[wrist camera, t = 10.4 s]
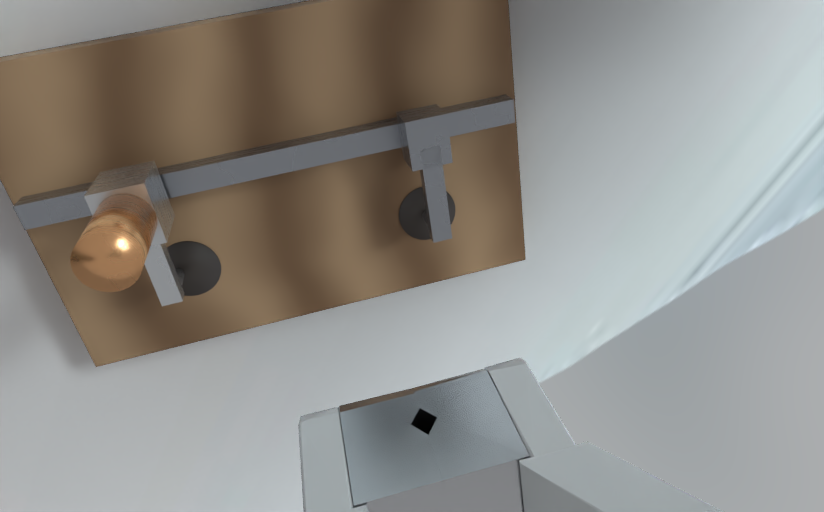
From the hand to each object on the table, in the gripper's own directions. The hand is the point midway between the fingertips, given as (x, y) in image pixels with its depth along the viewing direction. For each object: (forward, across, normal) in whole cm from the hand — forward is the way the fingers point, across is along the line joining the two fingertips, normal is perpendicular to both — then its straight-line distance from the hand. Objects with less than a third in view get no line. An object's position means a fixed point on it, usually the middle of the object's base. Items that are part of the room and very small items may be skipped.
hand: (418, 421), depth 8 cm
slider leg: (+23, +9, +6) cm, 26 cm away
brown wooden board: (+26, +3, +5) cm, 27 cm away
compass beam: (+24, +3, +6) cm, 25 cm away
